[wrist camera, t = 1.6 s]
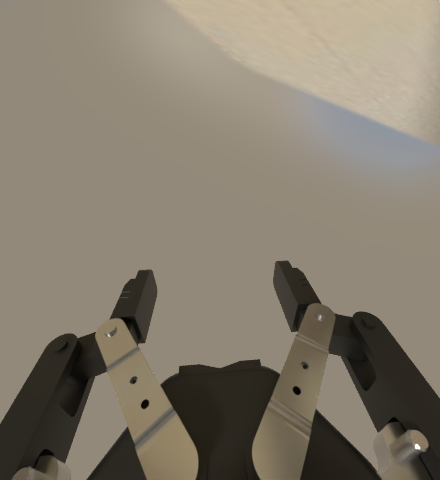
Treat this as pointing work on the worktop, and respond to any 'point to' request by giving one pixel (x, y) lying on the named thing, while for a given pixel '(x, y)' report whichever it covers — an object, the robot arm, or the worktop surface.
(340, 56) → the worktop surface
